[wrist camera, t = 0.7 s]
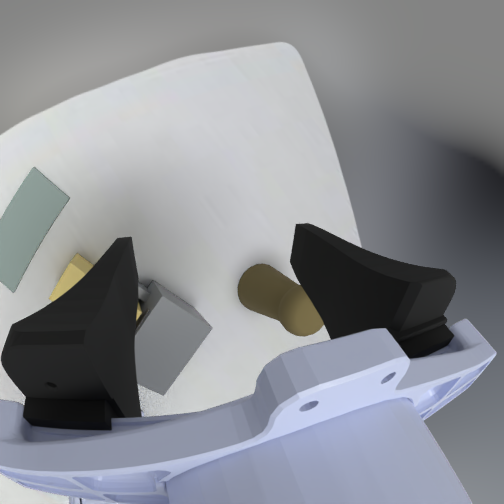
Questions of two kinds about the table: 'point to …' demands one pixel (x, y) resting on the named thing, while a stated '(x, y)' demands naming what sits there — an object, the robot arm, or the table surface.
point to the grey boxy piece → (165, 336)
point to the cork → (279, 299)
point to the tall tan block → (75, 278)
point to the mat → (27, 225)
